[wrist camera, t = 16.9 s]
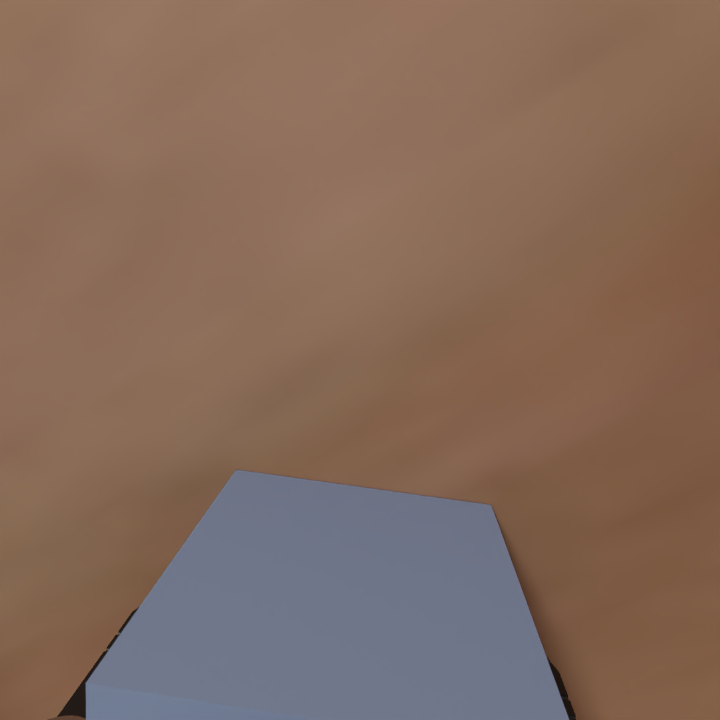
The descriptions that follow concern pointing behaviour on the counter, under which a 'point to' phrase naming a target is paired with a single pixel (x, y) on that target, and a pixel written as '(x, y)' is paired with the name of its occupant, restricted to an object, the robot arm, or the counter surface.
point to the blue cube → (331, 615)
